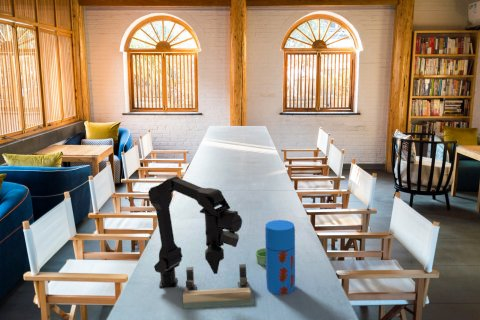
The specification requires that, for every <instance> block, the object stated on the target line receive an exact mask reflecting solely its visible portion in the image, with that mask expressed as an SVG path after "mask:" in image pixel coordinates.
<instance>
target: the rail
mask: <svg viewBox="0 0 480 320" xmlns="http://www.w3.org/2000/svg"><path fill="white" fill-rule="evenodd" d="M250 291H251V287H249V288H238V287H235V288H219V289H202V290H201V289H200V290H199V289H198V290H197V289H196V290H195V291H185V290H183V292H182V293H183V294H182V302H183V303H193V302H211V301H230V300H248V299H251V292H250Z"/></svg>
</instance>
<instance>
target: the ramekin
mask: <svg viewBox="0 0 480 320" xmlns="http://www.w3.org/2000/svg"><path fill="white" fill-rule="evenodd" d="M255 257H256V262H257V264H258V265H260V266H265V267H266V247H264V248H259V249H257V250H256V251H255Z"/></svg>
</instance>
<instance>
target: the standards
mask: <svg viewBox="0 0 480 320" xmlns="http://www.w3.org/2000/svg"><path fill="white" fill-rule="evenodd" d="M238 265H239V266H238V268H239V270H238V271H239V281H237V288H250V285H249V281H248V277H247V265H246V264H245V263H241V264H240V263H239V264H238ZM185 271H186V272H185V273H186V280H185V288H184V291H195V290H197V284H195V274H194V273H195V272H194V266H187V267H186V269H185Z"/></svg>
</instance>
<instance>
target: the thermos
mask: <svg viewBox="0 0 480 320" xmlns="http://www.w3.org/2000/svg"><path fill="white" fill-rule="evenodd" d="M264 230H265V231H264V233H265V248H266V266H265V277H266V278H265V279H266V289H267V291H268V292H270V293H271V294H275V295H288V294H291V293H293V292H294V291H295V288H296V229H295V224H294V222H292V221H289V220H284V219H276V220H271V221H267V223H266V224H265V229H264Z"/></svg>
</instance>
